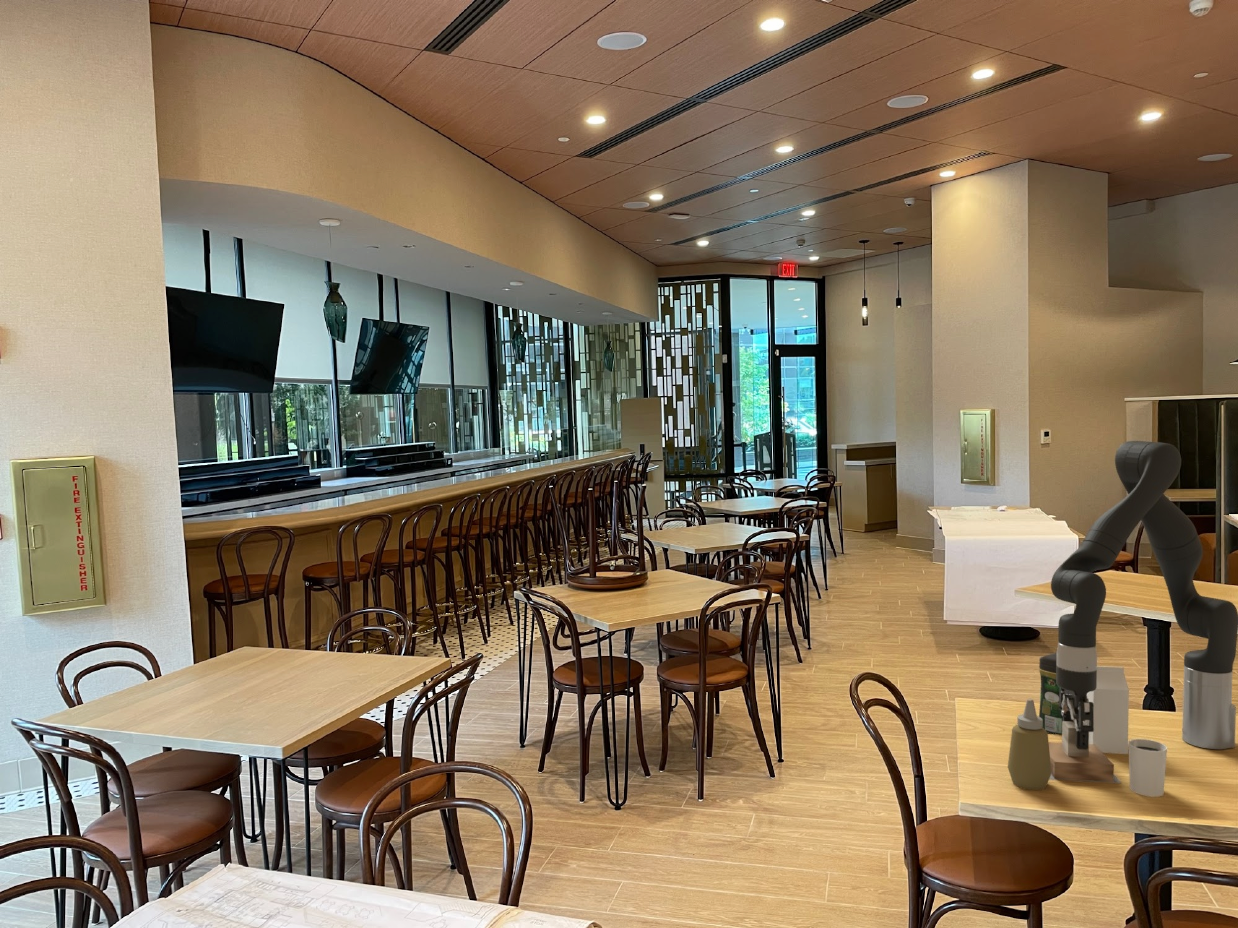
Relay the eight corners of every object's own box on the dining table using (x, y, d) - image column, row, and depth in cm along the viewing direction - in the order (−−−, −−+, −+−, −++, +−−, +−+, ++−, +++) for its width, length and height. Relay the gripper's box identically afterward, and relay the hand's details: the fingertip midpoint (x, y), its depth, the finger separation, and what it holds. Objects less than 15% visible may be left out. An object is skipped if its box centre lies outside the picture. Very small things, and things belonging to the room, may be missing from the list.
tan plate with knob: (1094, 760, 192) (1095, 716, 191) (1113, 781, 181) (1114, 735, 180) (1038, 757, 194) (1039, 714, 193) (1054, 778, 183) (1055, 733, 182)
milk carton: (1127, 757, 195) (1129, 672, 194) (1092, 755, 197) (1094, 670, 195) (1116, 745, 202) (1118, 662, 201) (1082, 743, 204) (1084, 661, 202)
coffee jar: (1054, 721, 218) (1055, 646, 217) (1086, 730, 212) (1088, 653, 211) (1032, 729, 213) (1033, 652, 212) (1064, 739, 206) (1065, 660, 205)
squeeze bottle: (1001, 779, 185) (1001, 693, 184) (1040, 778, 185) (1041, 693, 184) (1017, 795, 177) (1018, 706, 176) (1058, 795, 177) (1059, 706, 175)
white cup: (1152, 786, 180) (1153, 738, 180) (1173, 801, 173) (1175, 750, 173) (1120, 787, 180) (1121, 738, 179) (1140, 801, 173) (1141, 751, 173)
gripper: (1108, 675, 178) (1106, 755, 179) (1084, 656, 192) (1082, 730, 193) (1068, 674, 180) (1066, 753, 181) (1047, 655, 194) (1045, 728, 195)
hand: (1075, 741), depth 187 cm, fingers open, 8 cm apart
